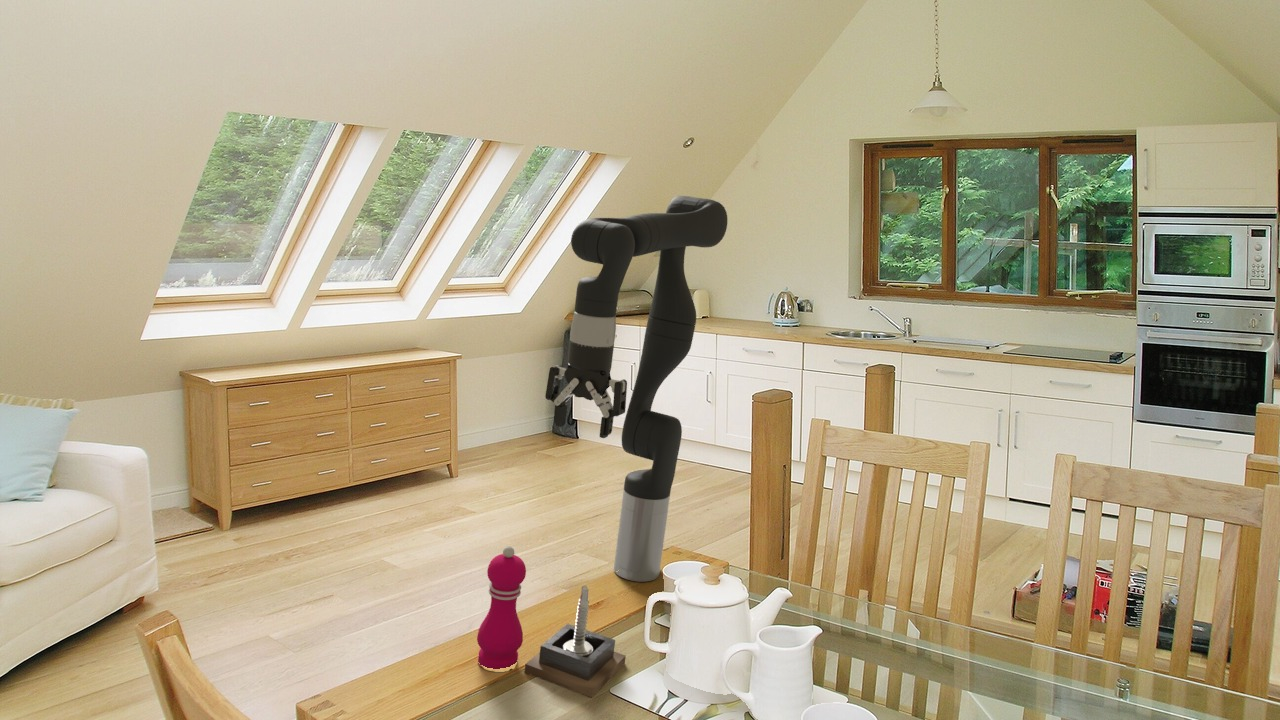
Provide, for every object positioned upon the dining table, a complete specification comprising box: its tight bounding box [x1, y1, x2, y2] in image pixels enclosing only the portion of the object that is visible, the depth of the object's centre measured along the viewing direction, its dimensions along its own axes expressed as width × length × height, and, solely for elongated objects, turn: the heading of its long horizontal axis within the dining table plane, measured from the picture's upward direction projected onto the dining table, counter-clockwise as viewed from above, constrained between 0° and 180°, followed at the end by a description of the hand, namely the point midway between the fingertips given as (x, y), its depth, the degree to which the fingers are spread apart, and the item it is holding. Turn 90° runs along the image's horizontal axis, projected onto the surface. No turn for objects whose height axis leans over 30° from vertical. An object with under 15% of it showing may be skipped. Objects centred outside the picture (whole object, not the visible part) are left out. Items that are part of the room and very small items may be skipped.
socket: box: [539, 623, 616, 681], centre depth 155 cm, size 9×9×3 cm
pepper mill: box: [476, 546, 527, 669], centre depth 152 cm, size 7×7×20 cm
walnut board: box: [524, 651, 627, 699], centre depth 155 cm, size 12×12×2 cm
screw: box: [563, 585, 593, 657], centre depth 154 cm, size 13×5×5 cm
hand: (581, 431), depth 166 cm, fingers open, 8 cm apart
